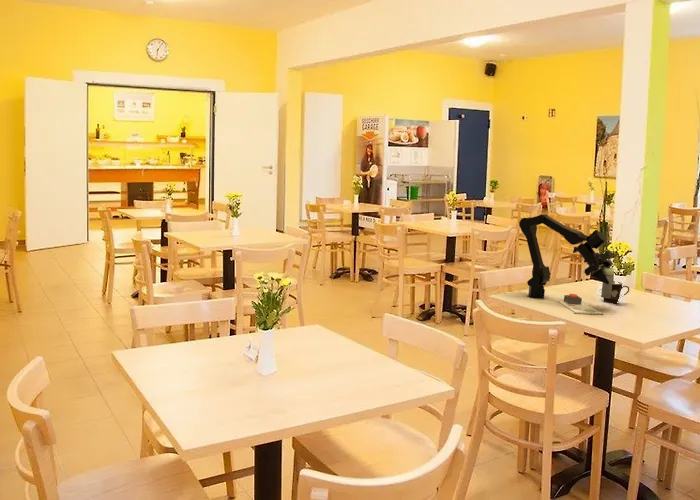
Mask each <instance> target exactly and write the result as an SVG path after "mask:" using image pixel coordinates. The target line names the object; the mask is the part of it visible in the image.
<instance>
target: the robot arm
mask: <svg viewBox="0 0 700 500" xmlns="http://www.w3.org/2000/svg"><path fill="white" fill-rule="evenodd" d="M542 224H543V225H544V226H546V227H548V228H549V229H551V230H552V231H554V232H556V233H558V234H559V235H561V236H562V237H563V238H564V240H565V241H566V242H567V243H568V244H570V245H572V246H573V251H572V253H573V254H575V253H579V255H580V256H581V257H582V258H583V263H584V264H587V266H588V267H586V268H584V271H583V273H584V274H585V276H587V277H588V276H591V277H593V278H595V279H597V280H598V281H601V282H602V283H603V282H604V283H606V284H609V281H608V279H607V278H606V276H605V274H604V272H603V271H604V268H612V267H611V266H613V265H614V263H613V262H612V260H610V259H614V256H613V255H614V252H613V251H611V250H609V249H607V250H605V251H604V252H603V253H599V252H596V251H595V250H594V249H596V250H598V249H599V248H600V247H602V245H604V244H605V243H607V241H608V239H607V237H606V235H605V234H604V233H602V232H600V231H599V230H598V229H594V231H592V232H591V234H589V235H587V234H585V233H583V232H582V231H580V230H577V229H574V228H571V227H567V226H566V225H565V224H563V223H561V222H559V221H558V220H556V219H555V218H553V217H551V216H550V215H548V214H546V213H544V214H543V213H542V214H539V215H536V216H533V217H530V216H529V217H522V218H521V219H520V220H519V222H518V225H519V229H520V230H521V233H522V234H523V235H524V237H525V238H526V243H527V247H528V250H529V255H530V260H531V263H532V270H531V278H530V279H528V280H527V286H529V287H528V295H526V296H527V297H528V298H530V299H539V300H544V299H545V291H546V289H545V286H546V284H547V283H548V282H549V281H550V279H551V275H552V274H551V272H550V267H549V266H548V265H547V266H546V265H545V264H544V261H543V257H542V253H541V248H540V246H539V242H538V237H537V230H538V226H540V225H542ZM583 242H584V243H583ZM575 245H578V246H575ZM591 273H592V274H591ZM613 281H614V280H612V283H613Z"/></svg>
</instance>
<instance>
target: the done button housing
mask: <svg viewBox="0 0 700 500" xmlns="http://www.w3.org/2000/svg"><path fill="white" fill-rule="evenodd" d="M563 301H564V302H566V303H568V304H581V302H583V301H582V297H580V296H579V295H577V298H570V297H569V294H564V295H563Z"/></svg>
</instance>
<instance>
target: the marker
mask: <svg viewBox="0 0 700 500" xmlns="http://www.w3.org/2000/svg"><path fill="white" fill-rule="evenodd" d="M603 272H604V274H605V276H606V278H607V279H608V281H609V284H606V283H604V282H602V286H601V292H600V293H601V296H600V297H601V298H611V290H612V280H613V278H614V273H615V268H613V267H610V268H604V271H603ZM613 281H614V280H613Z"/></svg>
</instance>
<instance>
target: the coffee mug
mask: <svg viewBox="0 0 700 500" xmlns="http://www.w3.org/2000/svg"><path fill="white" fill-rule="evenodd" d="M617 282H618V283H619V284H615V280H613V283H612V290H611V298H603V297H602V298H603V303H608V304H612V305H614V304H617V302H618V303H619V301H618V299H619V300H620V298H619V297H620V296H621V292H622V289H623V288H627V291H626V292H625V293H624V296H625V295H627V294H628V293H630V287H629V286H627V285H623V283H622V282H621V281H617ZM622 286H623V287H622ZM617 305H618V304H617Z"/></svg>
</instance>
